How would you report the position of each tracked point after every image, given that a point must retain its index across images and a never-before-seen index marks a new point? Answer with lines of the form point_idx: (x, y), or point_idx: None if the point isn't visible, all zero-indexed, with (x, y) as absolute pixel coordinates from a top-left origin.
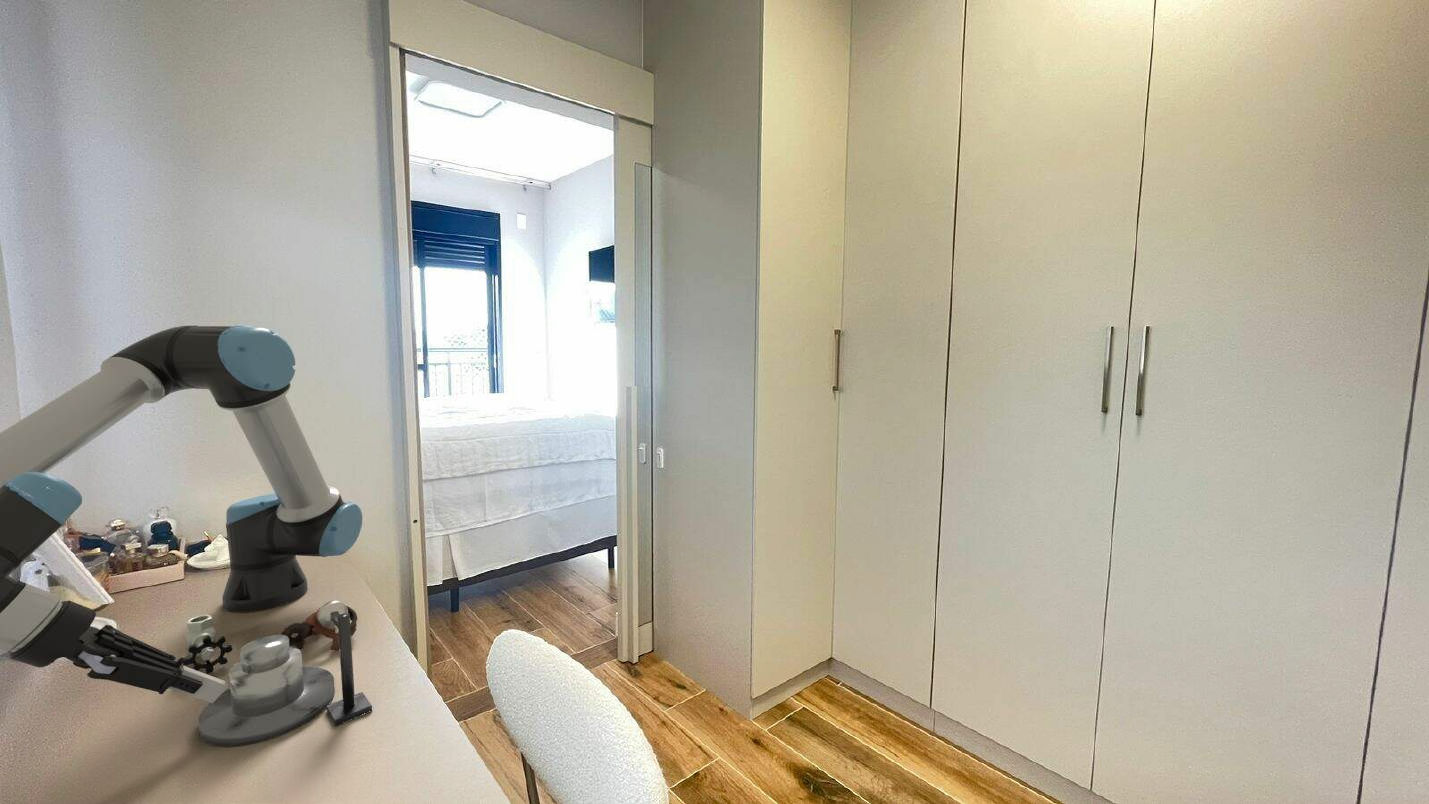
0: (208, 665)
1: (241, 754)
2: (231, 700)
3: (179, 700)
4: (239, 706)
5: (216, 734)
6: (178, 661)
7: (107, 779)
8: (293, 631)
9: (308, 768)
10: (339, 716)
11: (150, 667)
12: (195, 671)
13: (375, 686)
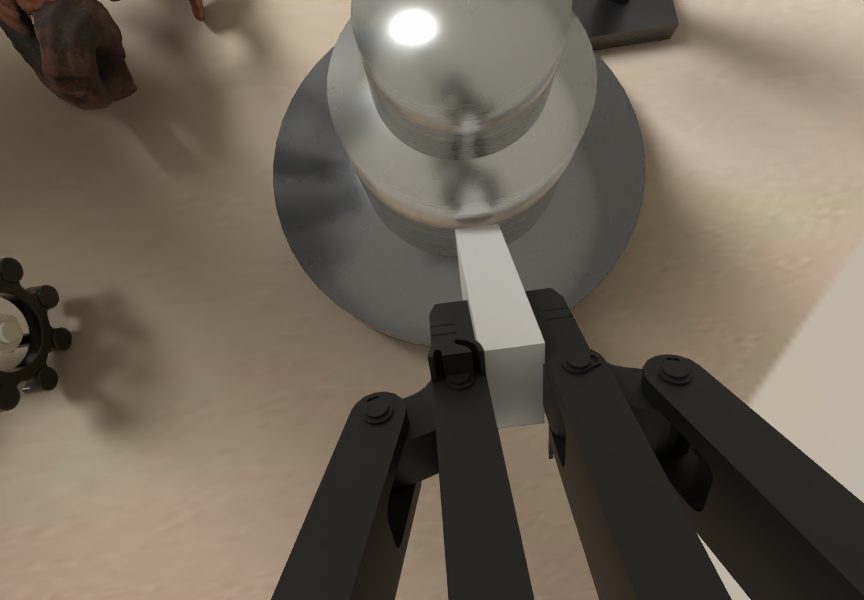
0: (45, 338)
1: (662, 245)
2: None
3: (203, 413)
4: (529, 221)
5: (587, 293)
6: (454, 372)
7: (568, 559)
8: (90, 46)
9: (837, 103)
10: (666, 12)
11: (844, 519)
12: (490, 306)
13: None
